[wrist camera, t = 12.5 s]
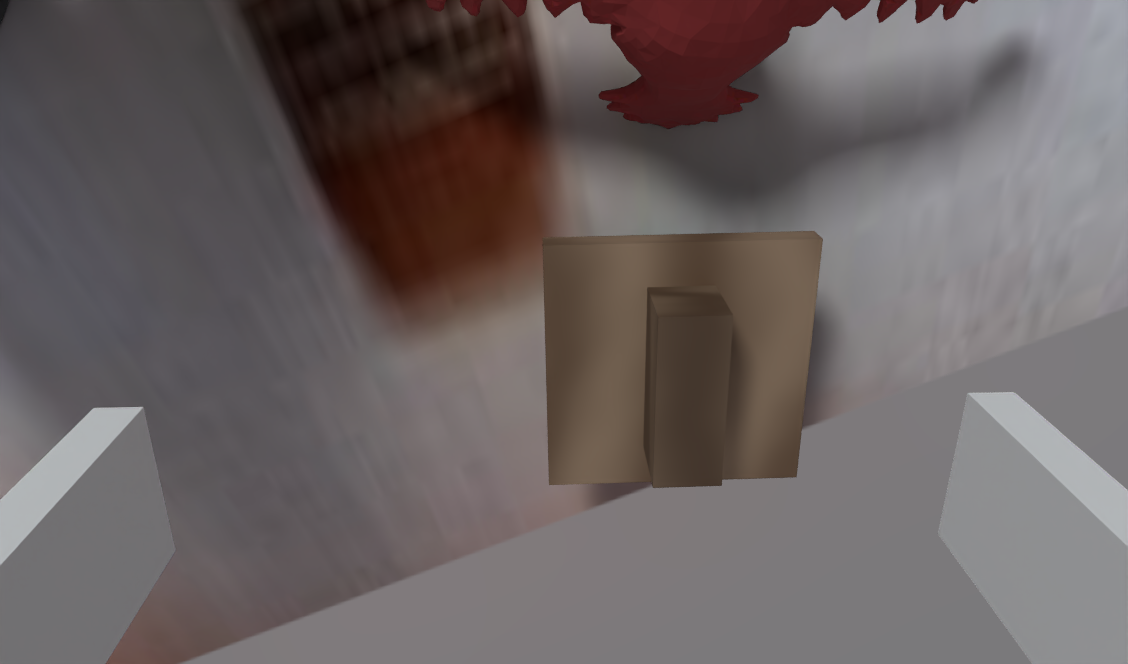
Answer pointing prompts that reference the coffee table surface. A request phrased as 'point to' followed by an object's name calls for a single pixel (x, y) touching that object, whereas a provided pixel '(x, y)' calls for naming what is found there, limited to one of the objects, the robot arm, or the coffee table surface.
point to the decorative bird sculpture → (700, 46)
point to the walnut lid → (677, 355)
